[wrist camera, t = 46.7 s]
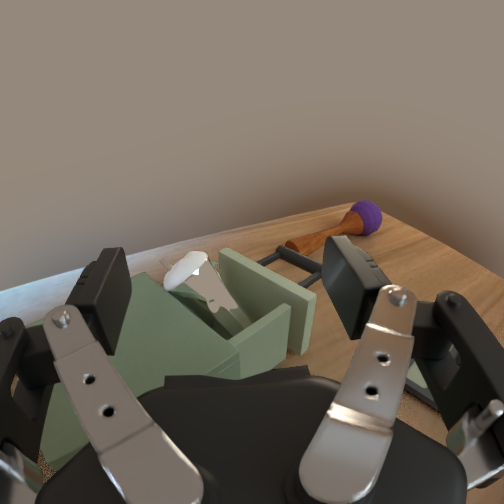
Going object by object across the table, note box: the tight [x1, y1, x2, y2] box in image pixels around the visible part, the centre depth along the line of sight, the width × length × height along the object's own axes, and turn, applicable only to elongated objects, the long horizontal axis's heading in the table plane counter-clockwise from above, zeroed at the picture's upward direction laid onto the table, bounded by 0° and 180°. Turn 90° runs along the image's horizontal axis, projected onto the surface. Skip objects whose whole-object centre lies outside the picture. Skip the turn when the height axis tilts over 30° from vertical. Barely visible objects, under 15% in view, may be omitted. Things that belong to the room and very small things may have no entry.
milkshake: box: [160, 251, 254, 341], centre depth 26 cm, size 4×5×10 cm
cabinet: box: [16, 272, 241, 471], centre depth 21 cm, size 14×13×9 cm
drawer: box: [160, 245, 322, 379], centre depth 29 cm, size 19×11×7 cm, turn 135°
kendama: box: [285, 200, 382, 256], centre depth 48 cm, size 6×6×20 cm
